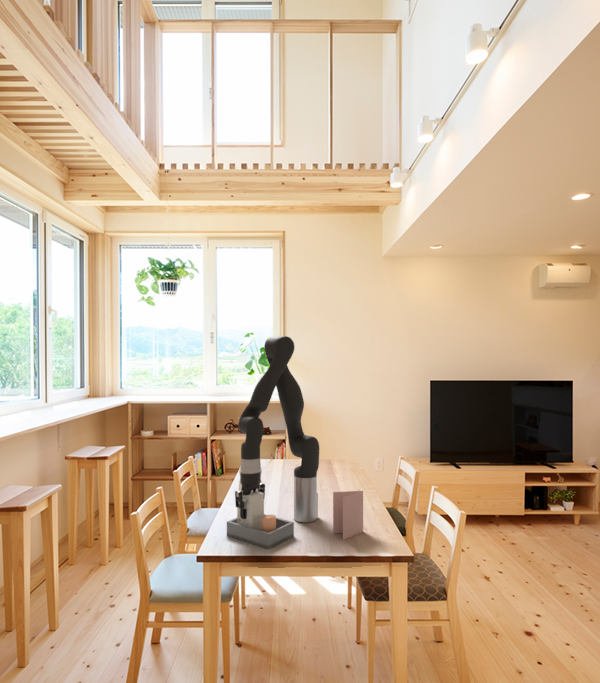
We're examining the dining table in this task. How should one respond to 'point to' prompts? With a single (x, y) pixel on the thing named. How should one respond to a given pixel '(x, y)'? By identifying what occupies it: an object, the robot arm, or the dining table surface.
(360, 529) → the greeting card
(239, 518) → the small box
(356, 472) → the dining table surface
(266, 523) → the peach rounded piece
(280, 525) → the tote
